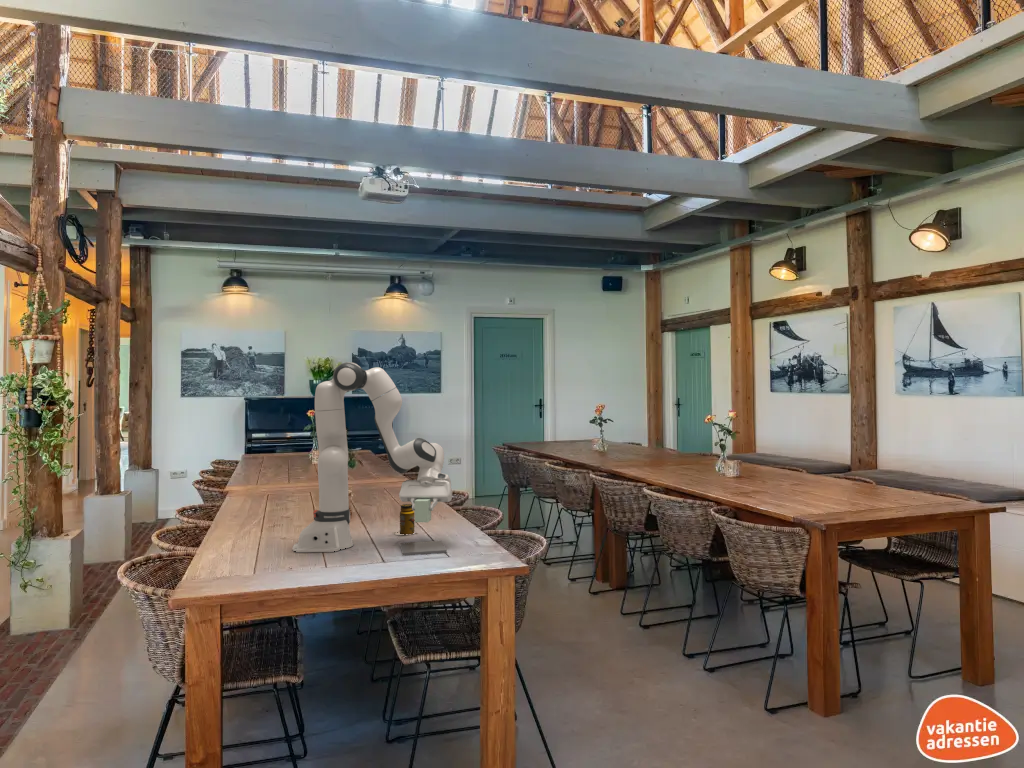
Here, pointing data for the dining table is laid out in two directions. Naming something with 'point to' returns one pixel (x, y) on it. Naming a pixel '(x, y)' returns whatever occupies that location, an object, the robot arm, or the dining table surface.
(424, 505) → the block
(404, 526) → the condiment
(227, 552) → the dining table surface
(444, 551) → the board
